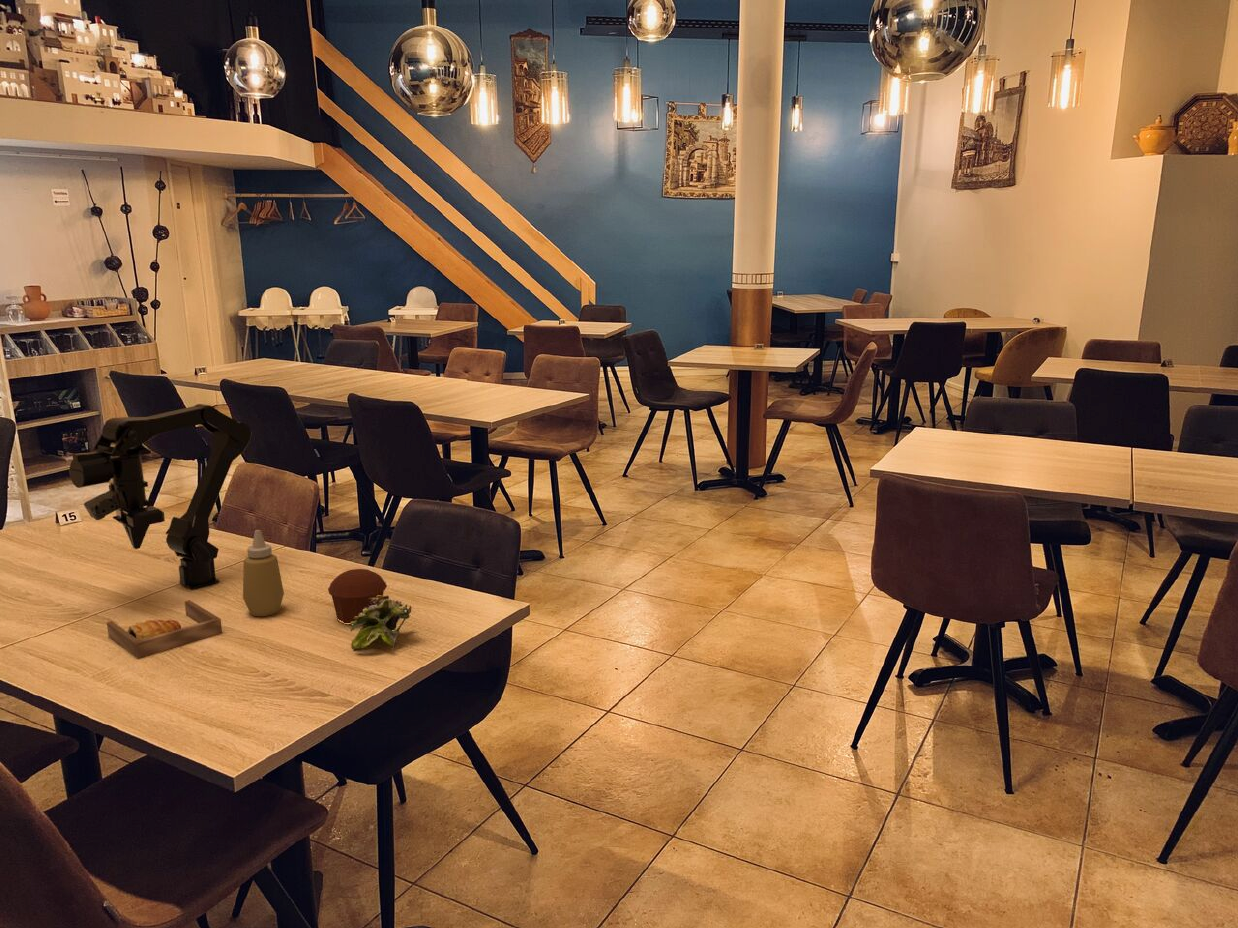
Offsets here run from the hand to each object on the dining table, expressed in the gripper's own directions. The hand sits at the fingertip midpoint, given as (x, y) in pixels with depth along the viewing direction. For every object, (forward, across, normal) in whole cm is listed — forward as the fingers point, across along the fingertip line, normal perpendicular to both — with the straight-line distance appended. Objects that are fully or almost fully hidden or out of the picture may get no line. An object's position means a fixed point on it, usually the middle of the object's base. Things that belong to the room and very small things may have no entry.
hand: (136, 548), depth 193 cm
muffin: (+12, +42, +27) cm, 51 cm away
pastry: (+12, +21, -6) cm, 25 cm away
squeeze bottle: (+12, +25, +15) cm, 32 cm away
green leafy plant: (+12, +57, +23) cm, 63 cm away
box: (+12, +21, -4) cm, 24 cm away
